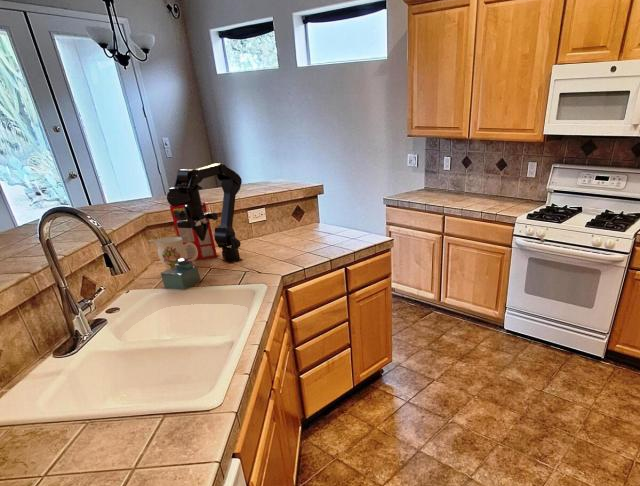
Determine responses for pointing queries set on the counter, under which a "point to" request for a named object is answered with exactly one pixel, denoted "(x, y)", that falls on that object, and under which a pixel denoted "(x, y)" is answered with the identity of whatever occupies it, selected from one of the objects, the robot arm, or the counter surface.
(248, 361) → the counter surface
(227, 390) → the counter surface
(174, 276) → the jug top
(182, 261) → the lid button
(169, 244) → the pitcher
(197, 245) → the food packaging
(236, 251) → the robot arm
